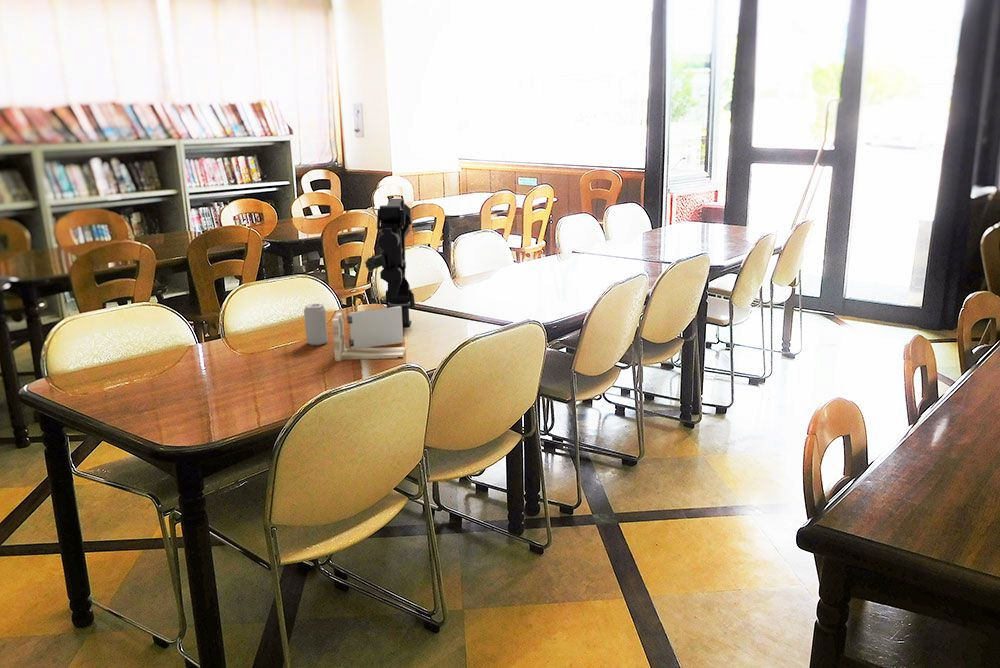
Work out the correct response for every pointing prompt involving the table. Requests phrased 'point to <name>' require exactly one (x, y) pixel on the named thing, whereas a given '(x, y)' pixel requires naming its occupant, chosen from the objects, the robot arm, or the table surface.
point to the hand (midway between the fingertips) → (395, 296)
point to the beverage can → (315, 324)
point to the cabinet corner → (358, 352)
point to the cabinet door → (375, 327)
